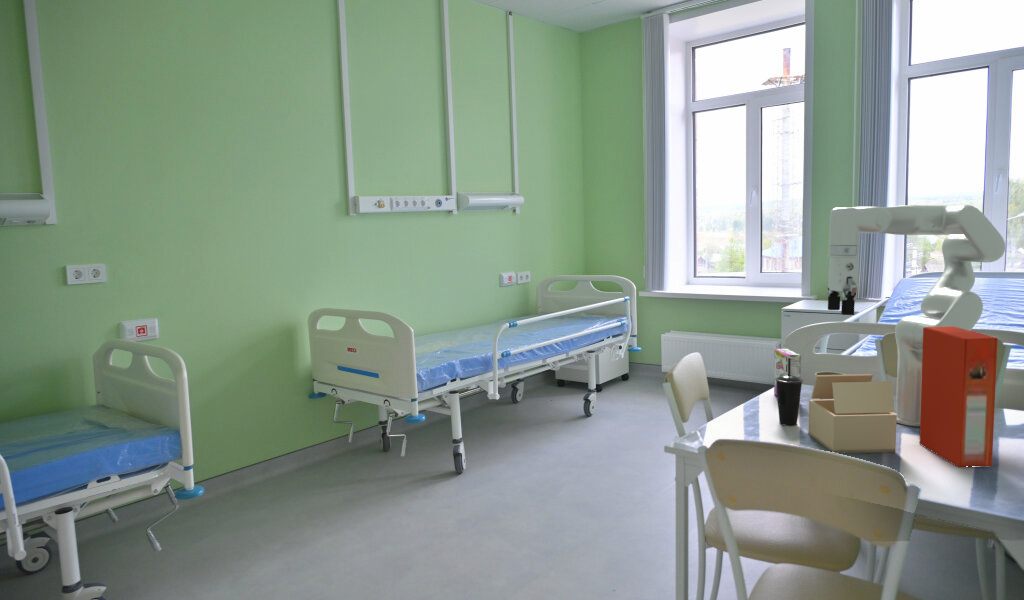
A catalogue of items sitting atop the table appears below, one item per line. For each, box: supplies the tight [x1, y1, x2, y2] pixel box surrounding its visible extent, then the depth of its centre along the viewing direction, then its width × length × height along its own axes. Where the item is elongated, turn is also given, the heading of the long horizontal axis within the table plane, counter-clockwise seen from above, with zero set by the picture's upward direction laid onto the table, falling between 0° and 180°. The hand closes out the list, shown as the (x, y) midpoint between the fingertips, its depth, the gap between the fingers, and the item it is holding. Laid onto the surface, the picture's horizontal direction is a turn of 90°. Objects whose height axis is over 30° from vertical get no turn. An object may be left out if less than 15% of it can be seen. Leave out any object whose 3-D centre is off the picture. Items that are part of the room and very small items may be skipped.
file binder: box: [919, 326, 998, 468], centre depth 170 cm, size 8×17×32 cm, turn 177°
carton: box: [808, 399, 898, 454], centre depth 183 cm, size 16×16×10 cm
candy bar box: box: [773, 348, 802, 404], centre depth 227 cm, size 11×5×16 cm, turn 179°
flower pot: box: [814, 371, 845, 400], centre depth 225 cm, size 9×9×9 cm
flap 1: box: [811, 373, 874, 400], centre depth 187 cm, size 15×8×1 cm
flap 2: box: [832, 380, 896, 414], centre depth 175 cm, size 15×8×1 cm
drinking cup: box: [775, 358, 804, 427], centre depth 200 cm, size 8×8×20 cm
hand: (840, 312), depth 190 cm, fingers open, 9 cm apart
